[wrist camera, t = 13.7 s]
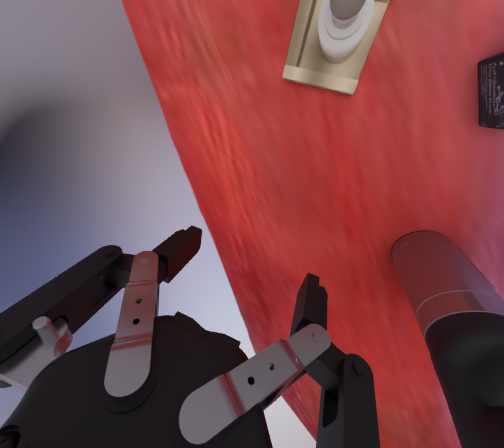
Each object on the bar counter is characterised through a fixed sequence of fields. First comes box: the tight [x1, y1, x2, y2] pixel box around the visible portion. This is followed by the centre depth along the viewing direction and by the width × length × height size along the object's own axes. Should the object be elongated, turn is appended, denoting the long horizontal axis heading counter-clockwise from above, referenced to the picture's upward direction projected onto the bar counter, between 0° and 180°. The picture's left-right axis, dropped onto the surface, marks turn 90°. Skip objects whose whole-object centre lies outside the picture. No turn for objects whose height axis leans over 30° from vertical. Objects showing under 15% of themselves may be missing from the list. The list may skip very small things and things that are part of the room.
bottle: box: [318, 0, 374, 64], centre depth 22 cm, size 5×5×14 cm
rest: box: [282, 0, 390, 95], centre depth 27 cm, size 10×11×4 cm
